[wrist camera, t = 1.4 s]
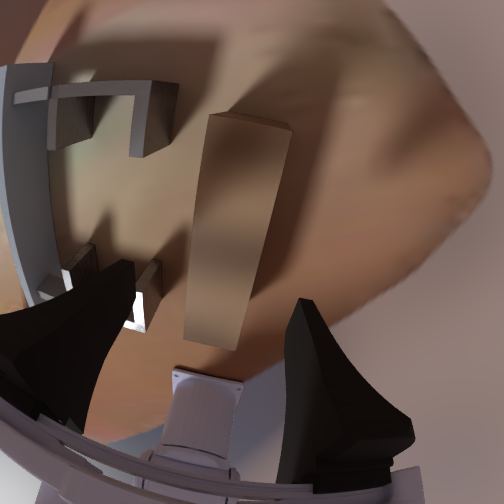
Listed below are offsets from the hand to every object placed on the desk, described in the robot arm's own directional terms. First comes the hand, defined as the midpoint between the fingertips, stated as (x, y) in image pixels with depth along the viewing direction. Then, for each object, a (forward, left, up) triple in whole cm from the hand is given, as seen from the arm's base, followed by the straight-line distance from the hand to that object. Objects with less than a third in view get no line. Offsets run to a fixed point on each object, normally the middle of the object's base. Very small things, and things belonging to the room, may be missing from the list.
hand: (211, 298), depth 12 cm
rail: (0, 0, -8) cm, 8 cm away
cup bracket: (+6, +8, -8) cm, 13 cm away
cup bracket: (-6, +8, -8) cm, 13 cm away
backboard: (0, +15, -8) cm, 17 cm away
